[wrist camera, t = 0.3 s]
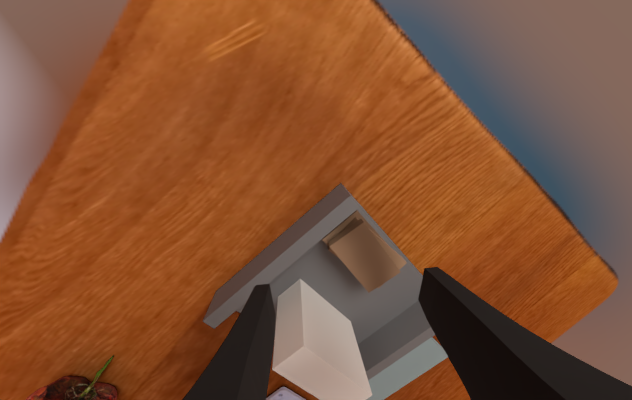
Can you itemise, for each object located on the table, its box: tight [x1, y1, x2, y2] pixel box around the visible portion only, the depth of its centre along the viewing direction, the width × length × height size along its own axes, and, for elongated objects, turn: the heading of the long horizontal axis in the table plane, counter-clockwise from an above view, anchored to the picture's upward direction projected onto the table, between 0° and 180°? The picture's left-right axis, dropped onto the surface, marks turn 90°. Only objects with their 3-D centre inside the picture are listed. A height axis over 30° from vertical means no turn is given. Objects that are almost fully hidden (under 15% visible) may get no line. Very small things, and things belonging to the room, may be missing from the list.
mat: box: [366, 337, 448, 400], centre depth 28 cm, size 12×8×1 cm, turn 132°
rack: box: [203, 183, 435, 380], centre depth 22 cm, size 16×17×4 cm
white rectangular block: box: [272, 279, 372, 400], centre depth 20 cm, size 3×8×7 cm, turn 42°
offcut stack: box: [322, 210, 407, 293], centre depth 20 cm, size 4×7×2 cm, turn 42°
